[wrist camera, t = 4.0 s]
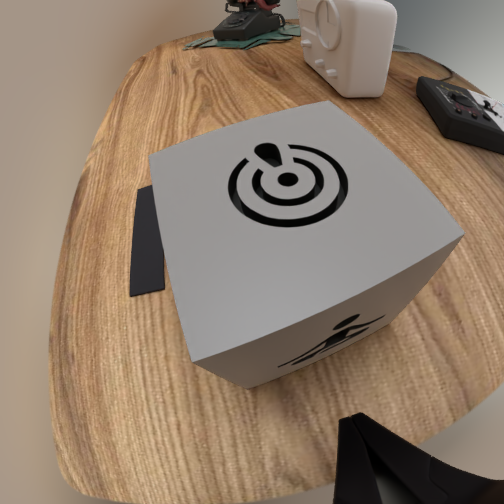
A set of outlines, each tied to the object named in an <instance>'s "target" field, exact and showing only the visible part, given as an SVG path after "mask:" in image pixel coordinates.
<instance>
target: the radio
mask: <svg viewBox="0 0 504 504" xmlns="http://www.w3.org/2000/svg"><path fill="white" fill-rule="evenodd" d="M297 6H298V13H299V20H300V28H301V36H302V41H301V42H300V45H301V47H303V54H304V59H305V61H306V63H308V64H309V65H310V66H311V67H312V68H313V69H314V70H315V71H317V72H318V73H319V74H320V75H321V76H322V77H323V78H324V79H325V80H326V81H327V82H328V83H329V84H330V85H331V86H332V87H333V88H334V89H335V90H336V91H337V92H338V93H339V94H340V95H341V96H343V97H346V98H356V97H380V96H381V95H382V94H383V92H384V87H385V82H386V78H387V73H388V68H389V63H390V58H391V53H392V47H393V41H394V34H395V29H396V22H397V12H396V9H395V8H394V6H393V5H391V3H389V2H387V1H384V0H297Z"/></svg>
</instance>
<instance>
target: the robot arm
mask: <svg viewBox="0 0 504 504" xmlns="http://www.w3.org/2000/svg"><path fill="white" fill-rule="evenodd" d="M333 504H504V480H492V479H487V478H484V477H481V476H477V475H475V474H471V473H468V472H466V471H462V470H459V469H457V468H455V467H452V466H450V465H448V464H446V463H444V462H442V461H440V460H438V459H436V458H435V457H431V455H429V454H428V453H426V452H424V451H422V450H421V449H419V448H417V447H416V446H414V445H412V444H411V443H409V442H408V441H406V440H404V439H403V438H401V437H399V436H398V435H396V434H395V433H393V432H391V431H390V430H388V429H387V428H385V427H384V426H382V425H380V424H379V423H377V422H376V421H374V420H373V419H371V418H370V417H368V416H367V415H365V414H364V413H361V412H360V413H357V414H354V415H352V416H351V417H345V418H342V419H340V420H339V427H338V449H337V465H336V478H335V489H334V498H333Z"/></svg>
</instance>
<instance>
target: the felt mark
mask: <svg viewBox="0 0 504 504" xmlns="http://www.w3.org/2000/svg"><path fill="white" fill-rule="evenodd" d="M163 289H165V283H164V249H163V244H162V239H161V234H160V229H159V223H158V217H157V212H156V206H155V199H154V193H153V186H152V185H150V186H147V187H144V188H141V189H138V192H137V200H136V208H135V217H134V226H133V237H132V251H131V267H130V297H132V296H136V295H141V294H145V293H150V292H154V291H159V290H163Z"/></svg>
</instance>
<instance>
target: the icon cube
mask: <svg viewBox="0 0 504 504" xmlns="http://www.w3.org/2000/svg"><path fill="white" fill-rule="evenodd" d="M149 164H150V172H151V179H152V186H153V193H154V199H155V206H156V212H157V217H158V223H159V229H160V234H161V239H162V244H163V249H164V254H165V259H166V264H167V268H168V273H169V277H170V282H171V286H172V290H173V295H174V299H175V303H176V307H177V311H178V315H179V318H180V322H181V326H182V330H183V333H184V337H185V340H186V344H187V347H188V351H189V354H190V358H191V361H192V363H194V364H196V365H198V366H200V367H202V368H204V369H206V370H208V371H210V372H212V373H214V374H216V375H218V376H220V377H222V378H224V379H226V380H228V381H230V382H232V383H235V384H237V385H239V386H241V387H243V388H246V389H250V388H253V387H256V386H258V385H261V384H264V383H266V382H269V381H271V380H274V379H276V378H279V377H281V376H284V375H286V374H289V373H291V372H293V371H296V370H298V369H300V368H303V367H305V366H307V365H310V364H312V363H314V362H316V361H318V360H320V359H323V358H325V357H327V356H329V355H331V354H333V353H335V352H337V351H339V350H341V349H343V348H345V347H347V346H349V345H351V344H353V343H355V342H357V341H359V340H361V339H363V338H364V337H366V336H368V335H370V334H372V333H374V332H375V331H377V330H379V329H381V328H382V327H384V326H386V325H388V324H389V323H391V322H392V321H393V320H394V319H395V317H396V316H397V315H398V314H399V313H400V312H401V311H402V310H403V309H404V308H405V307H406V306H407V305H408V304H409V303H410V302H411V300H412V299H413V298H414V297H415V296H416V295H417V294H418V293H419V291H420V290H421V289H422V288H423V287H424V286H425V285H426V283H427V282H428V281H429V280H430V279H431V277H432V276H433V275H434V274H435V273H436V271H437V270H438V269H439V268H440V266H441V265H442V264H443V263H444V261H445V260H446V259H447V257H448V256H449V255H450V253H451V252H452V251H453V249H454V248H455V247H456V245H457V244H458V243H459V241H460V240H461V238H462V237H463V236H464V234H465V232H464V231H463V229H462V228H461V227H460V226H459V224H458V223H457V222H456V221H455V219H454V218H453V217H452V216H451V214H450V213H449V212H448V211H447V210H446V208H445V207H444V206H443V205H442V204H441V202H440V201H439V200H438V199H437V198H436V197H435V196H434V195H433V193H432V192H431V191H430V190H429V189H428V188H427V187H426V186H425V185H424V184H423V183H422V181H421V180H420V179H419V178H418V177H417V176H416V175H415V174H414V173H413V172H412V171H411V170H410V169H409V168H408V167H407V166H406V165H405V164H404V163H403V162H402V161H401V160H400V159H399V158H398V157H397V156H395V155H394V154H393V153H392V152H391V151H390V150H389V149H388V148H387V147H386V146H385V145H383V144H382V143H381V142H380V141H379V140H378V139H377V138H376V137H374V136H373V135H372V134H371V133H370V132H369V131H367V130H366V129H365V128H364V127H363V126H361V125H360V124H359V123H358V122H356V121H355V120H354V119H353V118H351V117H350V116H349V115H348V114H346V113H345V112H344V111H342V110H341V109H340V108H338V107H337V106H336V105H334V104H333V103H332V102H330V101H323V102H318V103H313V104H308V105H304V106H299V107H295V108H290V109H286V110H282V111H278V112H274V113H270V114H266V115H263V116H259V117H256V118H252V119H249V120H245V121H242V122H238V123H235V124H232V125H229V126H226V127H223V128H220V129H217V130H214V131H211V132H208V133H205V134H202V135H199V136H196V137H194V138H191V139H188V140H186V141H183V142H180V143H178V144H175V145H173V146H170V147H168V148H165V149H163V150H160V151H158V152H156V153H153V154H151V155H149Z"/></svg>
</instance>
